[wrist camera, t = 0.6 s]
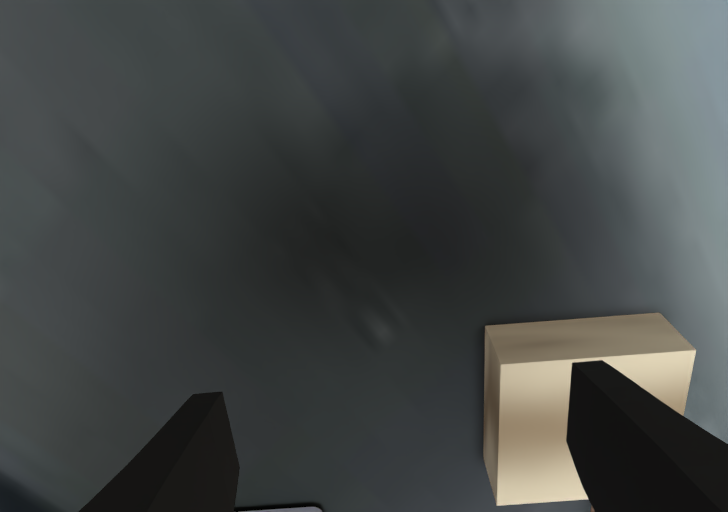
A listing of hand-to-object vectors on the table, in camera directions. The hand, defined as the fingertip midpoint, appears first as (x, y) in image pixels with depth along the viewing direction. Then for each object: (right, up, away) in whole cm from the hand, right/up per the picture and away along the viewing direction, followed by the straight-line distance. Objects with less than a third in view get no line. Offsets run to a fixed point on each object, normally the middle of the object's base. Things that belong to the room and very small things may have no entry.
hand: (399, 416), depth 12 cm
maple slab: (+8, -2, +13) cm, 15 cm away
